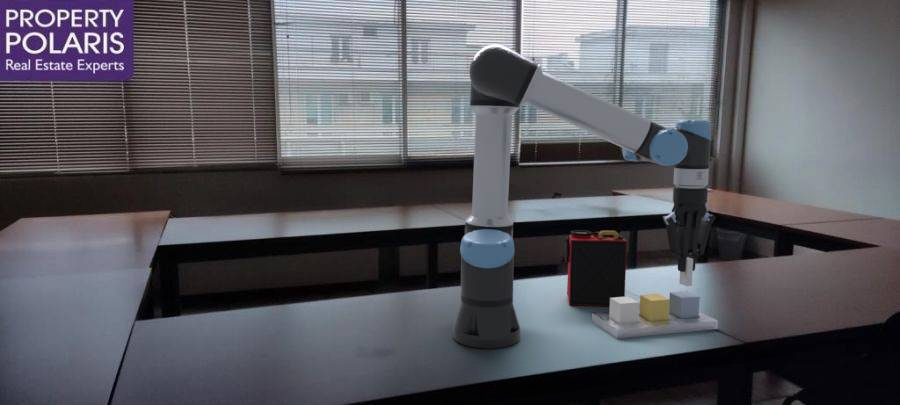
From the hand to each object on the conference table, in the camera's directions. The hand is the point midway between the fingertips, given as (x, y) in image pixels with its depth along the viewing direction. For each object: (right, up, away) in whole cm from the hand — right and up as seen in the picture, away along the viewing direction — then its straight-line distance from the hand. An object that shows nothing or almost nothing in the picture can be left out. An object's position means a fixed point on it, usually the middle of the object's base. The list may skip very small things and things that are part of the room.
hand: (685, 284), depth 143 cm
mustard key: (-8, -8, -1) cm, 11 cm away
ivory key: (-16, -8, -3) cm, 18 cm away
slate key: (0, -7, +1) cm, 8 cm away
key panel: (-8, -10, -1) cm, 12 cm away
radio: (-18, -7, +18) cm, 27 cm away
